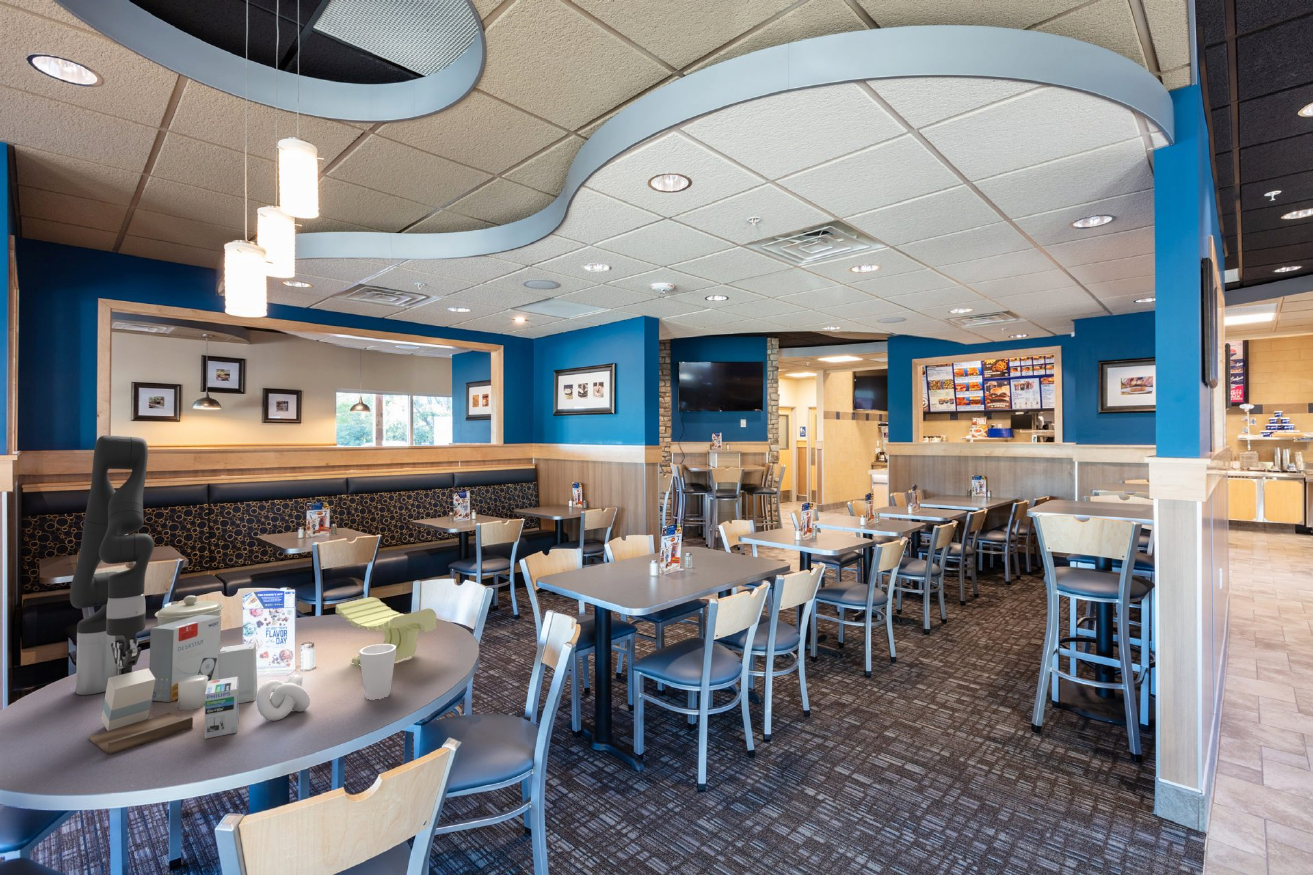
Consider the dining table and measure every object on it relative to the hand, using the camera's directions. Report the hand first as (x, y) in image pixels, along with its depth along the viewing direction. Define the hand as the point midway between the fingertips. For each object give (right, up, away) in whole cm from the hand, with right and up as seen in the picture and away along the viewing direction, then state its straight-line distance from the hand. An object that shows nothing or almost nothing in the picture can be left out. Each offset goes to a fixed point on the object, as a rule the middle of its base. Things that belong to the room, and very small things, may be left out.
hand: (125, 681), depth 156 cm
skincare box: (+19, -11, +13) cm, 26 cm away
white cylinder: (+9, -11, +11) cm, 17 cm away
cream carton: (0, -9, 0) cm, 9 cm away
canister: (-19, -11, +46) cm, 51 cm away
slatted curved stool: (+45, -11, +47) cm, 66 cm away
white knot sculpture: (+37, -11, +6) cm, 39 cm away
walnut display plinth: (+9, -10, -6) cm, 15 cm away
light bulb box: (+27, -11, -3) cm, 29 cm away
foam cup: (+56, -11, +17) cm, 60 cm away
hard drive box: (0, -11, +20) cm, 23 cm away
